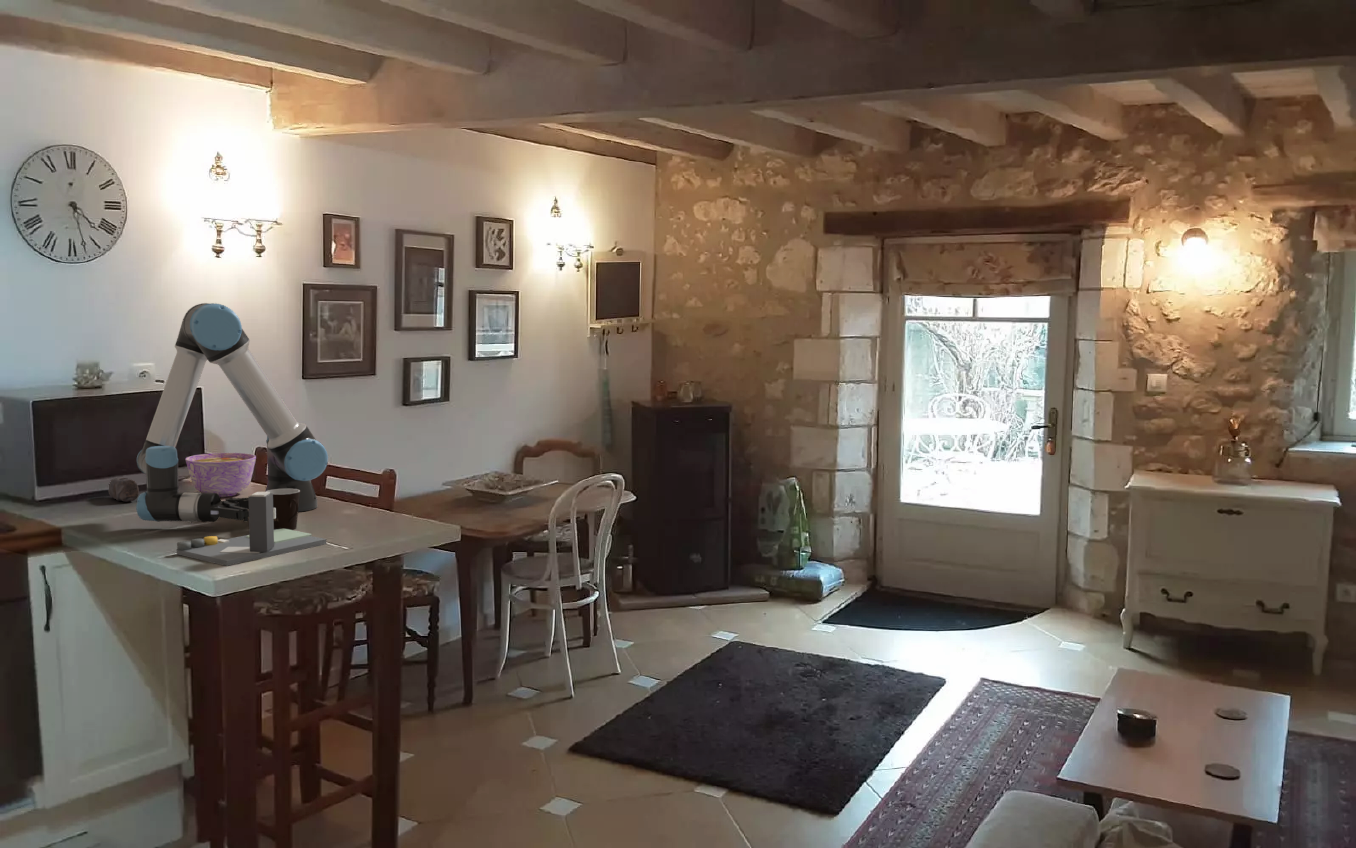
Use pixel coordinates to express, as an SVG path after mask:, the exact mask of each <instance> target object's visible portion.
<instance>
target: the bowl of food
mask: <svg viewBox="0 0 1356 848" xmlns="http://www.w3.org/2000/svg"><path fill="white" fill-rule="evenodd" d="M256 459H257V456H256V455H255V454H251V453H245V452H242V453H241V452H213V453H202V454H194V455H191V456H186V457H185V463H186V466H187V471H188V473H189V478H190V480H191V483H192V486H193V487H194V488H195V489H196V491H199V493H201V494H202V493H217V494H218V495H219V497H220V498H226V497H228V498H229V497H233V496H236V495H237V493H239V492H242V491H243V490H245V489H246V488H248V486H249V485H250V483H251V481H252V478H253V473H254V469H255V464H256V461H257V460H256Z"/></svg>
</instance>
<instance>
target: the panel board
mask: <svg viewBox="0 0 1356 848" xmlns="http://www.w3.org/2000/svg"><path fill="white" fill-rule="evenodd" d="M276 530H278V529H276ZM248 535H249V534H246V535H242V536H237V537H231V538H227V539H226V538H225V539H223V538H220V539H219V538H218V536H216V535H213V536H212V535H211V536H210V535H209V536H208V535H207V536H204V537H203V538H191V539H190V540H189V541H188V540H186V541H185V540H184V541H178V542H177V543H176V554H177V555H179V556H183V557H187V558H192V559H195V560H196V559H197V560H200V561H204V562H210V563H212V564H213V563H214V564H218V565H221V566H224V567H225V566H226V567H228V566H232V565H237V564H240V563H246V562H251V561H255V560H259V559H263V558H268V557H273V556H278V555H282V554H286V553H291V552H296V551H300V550H304V549H309V548H310V549H311V548H313V547H318V546H323V545H326V544H327V539H326V538H322V537H319V536H313V535H312V536H308V537H303V538H298V539H293V540H289V541H284V542H279V543H274V547H273V548H272V549H270V550H269V551H267V552H250V538H247V537H246V536H248Z"/></svg>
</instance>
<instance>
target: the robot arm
mask: <svg viewBox="0 0 1356 848" xmlns="http://www.w3.org/2000/svg"><path fill="white" fill-rule="evenodd" d="M250 341H251V340H250V338H249V337H248V335H247V333H246V332H245V330H244V329H243V325H242V323H241V320H240V318H239V315H238V314H237V313H236V312H235V311H234V310H233V309H231V308H230V307H228V306H226V305H224V304H220V303H207V302H204V303H197V304H195V305H194V306H192V307H190V308H189V309H188V310H187V311H186V313H185V314H184V316H183V318H182V321H181V324H180V329H179V331H178V335H177V338H176V341H175V344H174V348H175V349H176V353H175V356H174V360H173V362H172V365H171V367H170V368H171V369H170V370H169V374H168V376H167V380H166V382H165V384H164V387H163V390H162V393H161V397H160V398H159V401H158V405H157V407H156V410H155V413H154V415H153V419H152V421H151V424H150V427H149V429H148V432H147V436H146V439H145V441H144V444H143V447H142V449H141V450H140V451H139V452H138V454H137V457H136V465H137V468H138V469H139V471H140V472H142V474H144V475H146V476H145V477H146V491H145V492H141V493H140V494H139V495H138V497H137V499H136V501H137V502H136V505H135V506H136V514H137V516H138V517H139V519H140V520H142V521H149V522H150V521H151V522H157V523H158V522H159V523H161V522H188V523H189V524H193V522H200V521H201V523H204V522H205V523H207V522H208V523H209V522H210V523H214V522H215V523H216V521H218V520H219V519H220V518H222V519H227V520H228V519H229V520H236V521H243V522H244V523H245V522H249V500H248V497H234V498H233V497H230V498H229V497H228V498H225V500H221V497H219V495H218V494H217V493H202V492H185V491H184V492H181V491H179V488H180V487H179V458H178V450H177V448H176V447H177V444H178V441H179V438H180V434H181V432H182V430H183V426H184V424H185V421H186V418H187V415H188V412H189V410H190V407H191V405H192V401H193V398H194V396H195V393H196V391H197V388H198V384H199V382H200V379H201V376H202V373H203V370H204V368H205V365H206V363H207V361H208V362H209V364H214V365H217V366H219V368H220V369H221V371H222V372H223V374H225V376H226V378H227V379H228V381H229V382H230V383H231V385H232V386H233V388H234V389H235V391H236V392H237V394H238V396H239V397H240V398H241V400H242V401H243V402H244V405H246V407H247V408H248V411H250V413H251V415H252V416H253V417H254V419H255V420H256V421H257V423H258V424H259V426H260V428H261V429H262V431H263V432H264V433H265V435H266V441H265V442H266V443H265V444H266V459H267V460H266V461H267V462H266V463H267V485H266V487H265V491H264V492H266V491H268V490H273V489H298V490H300V496H299V506H298V513H300V512H306V511H310V510H314V509H317V508H318V497H317V495H316V492H315V489H314V486H313V484H312V480H314V479H316V478H318V477H320V476H321V475H322V474H323V473H324V472H325V470H326V469H327V466H328V463H329V454H328V451H327V449H326V448H325V446H324V445H323V444H322V443H321V442H320V441H319V440H317V438H316V437H315V436H314V435H313V433H312V432H311V430H310V429H309V427H308V426H307V424H306V423H304V422H303V423H302V422H298V421H297V419H296V418H295V417H294V415H293V413H292V412H291V410H290V409H289V407H288V406H287V404H286V403H285V402H284V400H283V398H282V397H281V395H280V393H279V392H278V391H277V390H276V387H275V386H274V384H272V381H271V380H270V379H269V378H268V376H267V374H266V373H265V371H264V370H263V368H262V367H261V366H260V364H259V362H258V361H257V360H256V358H255V356H254V355H253V353H252V352H251V350H250V349H249V345H250ZM273 519H276V508H273Z"/></svg>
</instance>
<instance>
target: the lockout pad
mask: <svg viewBox="0 0 1356 848" xmlns="http://www.w3.org/2000/svg"><path fill="white" fill-rule="evenodd" d="M247 535H248V536H246V537H247V538H249V534H247ZM308 536H313V535H312V533H309V532H303V531H299V530H289V529H284V528H283V529H278V530H274V543H279V542H284V541H289V540H293V539H298V538H303V537H308Z"/></svg>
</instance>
